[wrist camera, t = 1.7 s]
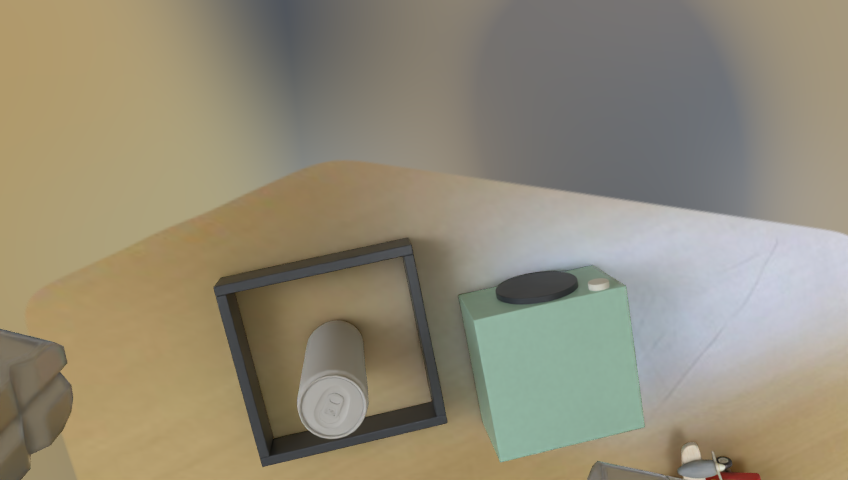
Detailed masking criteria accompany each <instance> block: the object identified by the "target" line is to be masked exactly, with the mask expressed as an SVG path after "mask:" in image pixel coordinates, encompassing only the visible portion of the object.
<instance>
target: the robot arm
mask: <svg viewBox="0 0 848 480" xmlns="http://www.w3.org/2000/svg"><path fill="white" fill-rule="evenodd" d="M66 364H67V359H66V355H65V350H64V346H62V345H59V344H57V343H55V342H51V341H47V340H43V339H39V338H35V337H31V336H27V335H22V334H19V333H15V332H11V331H7V330H2V329H0V480H21V479H22V478H23V477H24V476H25V474H26V473H27V472H28V471H29V470H30V462H31V461H30V460H31V454H33V453H35V452H37V451H39V450H42V449H43V448H46V447H48V446H50V445H51V444H52V443H53V442H54V440H55V439H56V438H57V437H58V435H59V434H60V433H61V432H62V431H63V429H64V427H65V424H66V422H67V420H68V418H69V416H70V413H71V410H72V402H73V393H72V387H71V384H70V383H69V382H68V381H67V380H66V378H65V377H64V376H63V375H62V374H61V373H60V371H61V370H62V369H63V368H64V366H65V365H66ZM587 480H686V479H681V478H676V477H671V476H664V475H662V474H657V473H652V472H648V471H643V470H638V469H633V468H629V467H624V466H619V465H614V464H609V463H605V462H600V461H597V462H596V463H595V464H594V465H593V466H592V469H591V471H590V473H589V476H588V478H587Z"/></svg>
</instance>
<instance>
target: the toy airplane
mask: <svg viewBox="0 0 848 480" xmlns="http://www.w3.org/2000/svg"><path fill="white" fill-rule="evenodd" d="M712 456H713V460H702V458H701V454H700V450H699V448H698V445H697V444H696V443H695V442H689V443H686V444H685V445H684V446H683V447H682V448H681V459H682V466H681V467H679V468H678V474H679V475H681V476H683V479H686V480H761V478H760V475H759V474H758V473H738V472H731V470H730V469H729V468H730V467H731V466H732V460H731V459H729V458H727V457H719V458H717V459H716V457H715V453H714V452H713V451H712Z"/></svg>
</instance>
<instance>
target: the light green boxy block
mask: <svg viewBox="0 0 848 480" xmlns="http://www.w3.org/2000/svg"><path fill="white" fill-rule="evenodd" d="M458 297H459V302H460V307H461V312H462V318H463V323H464V328H465V333H466V339H467V344H468V349H469V354H470V360H471V365H472V370H473V375H474V381H475V386H476V391H477V396H478V401H479V407H480V412H481V417H482V422H483V424H484V426H485V429H486V431H487V433H488V435H489V438H490V440H491V442H492V445H493V447H494V449H495V451H496V454H497V456H498V458H499V461H500V462H504V461H508V460H512V459H516V458H520V457H525V456H529V455H533V454H537V453H541V452H545V451H549V450H553V449H557V448H562V447H566V446H570V445H574V444H578V443H582V442H586V441H590V440H594V439H599V438H603V437H607V436H611V435H615V434H619V433H623V432H627V431H631V430H636V429H640V428H644V427H645V424H644V416H643V409H642V401H641V394H640V386H639V379H638V371H637V364H636V356H635V349H634V341H633V334H632V326H631V319H630V311H629V304H628V296H627V289H626V286H625V285H624V284H622V283H620V282H619V281H617V280H616V279H614V278H612V277H611V276H609V275H607V274H606V273H604V272H603V271H601V270H599V269H598V268H596V267H595V266H593V265H591V266H587V267H582V268H578V269H573V270H569V271H564V272H558V271H547V272H536V273H530V274H525V275H521V276H517V277H514V278H511V279H509V280H507V281H504V282H503V283H501V284H500V285H498V286H497V287H492V288H488V289H483V290H479V291H474V292H470V293H465V294H461V295H458Z"/></svg>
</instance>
